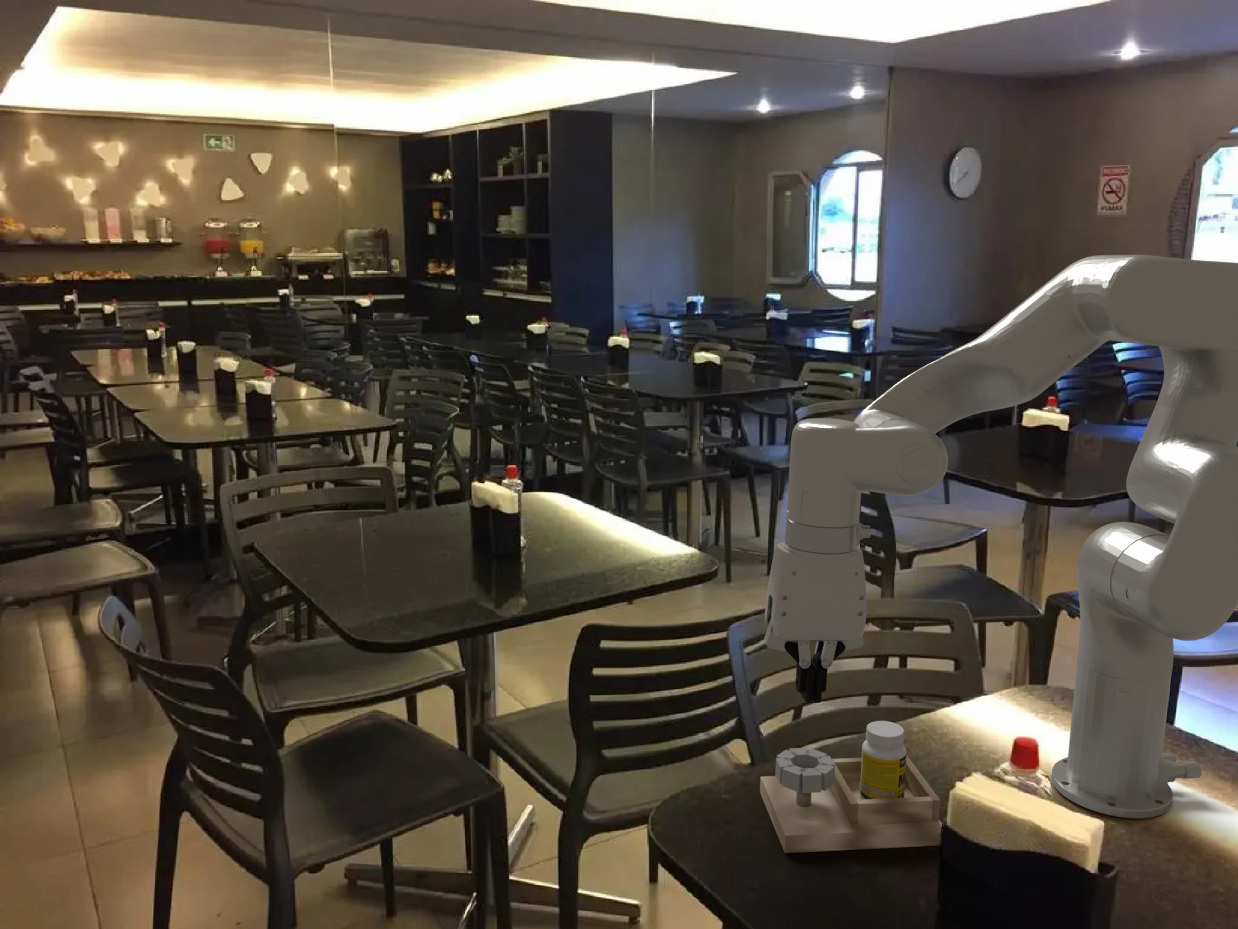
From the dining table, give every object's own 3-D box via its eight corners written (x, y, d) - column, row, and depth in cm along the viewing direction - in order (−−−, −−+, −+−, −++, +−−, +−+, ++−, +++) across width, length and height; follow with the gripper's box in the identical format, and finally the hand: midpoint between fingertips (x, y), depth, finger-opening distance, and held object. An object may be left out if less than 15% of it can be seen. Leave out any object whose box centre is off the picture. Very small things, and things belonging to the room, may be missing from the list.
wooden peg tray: (903, 786, 116) (905, 742, 115) (943, 845, 104) (947, 797, 103) (759, 792, 115) (761, 748, 114) (784, 853, 103) (786, 805, 102)
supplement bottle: (905, 813, 107) (909, 740, 105) (860, 808, 108) (863, 736, 106) (902, 790, 111) (905, 720, 110) (858, 786, 112) (862, 717, 110)
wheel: (823, 763, 111) (824, 747, 111) (839, 791, 105) (840, 774, 105) (771, 765, 111) (771, 749, 110) (784, 794, 105) (784, 776, 104)
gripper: (877, 526, 109) (865, 682, 113) (744, 526, 108) (735, 684, 111) (902, 546, 102) (888, 712, 105) (759, 545, 100) (750, 714, 104)
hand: (809, 697), depth 108 cm, fingers closed
